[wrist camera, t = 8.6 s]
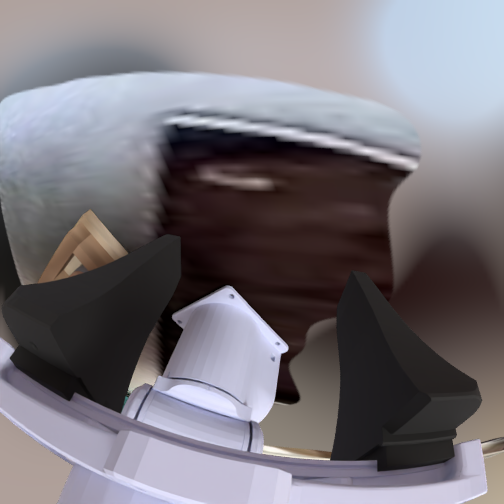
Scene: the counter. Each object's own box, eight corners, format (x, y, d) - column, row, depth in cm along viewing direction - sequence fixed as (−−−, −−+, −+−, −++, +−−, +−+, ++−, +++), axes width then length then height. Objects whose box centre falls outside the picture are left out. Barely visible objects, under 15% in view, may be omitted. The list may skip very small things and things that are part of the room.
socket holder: (160, 286, 26) (125, 341, 20) (82, 338, 35) (58, 373, 29) (90, 209, 23) (38, 249, 17) (36, 290, 32) (8, 322, 26)
